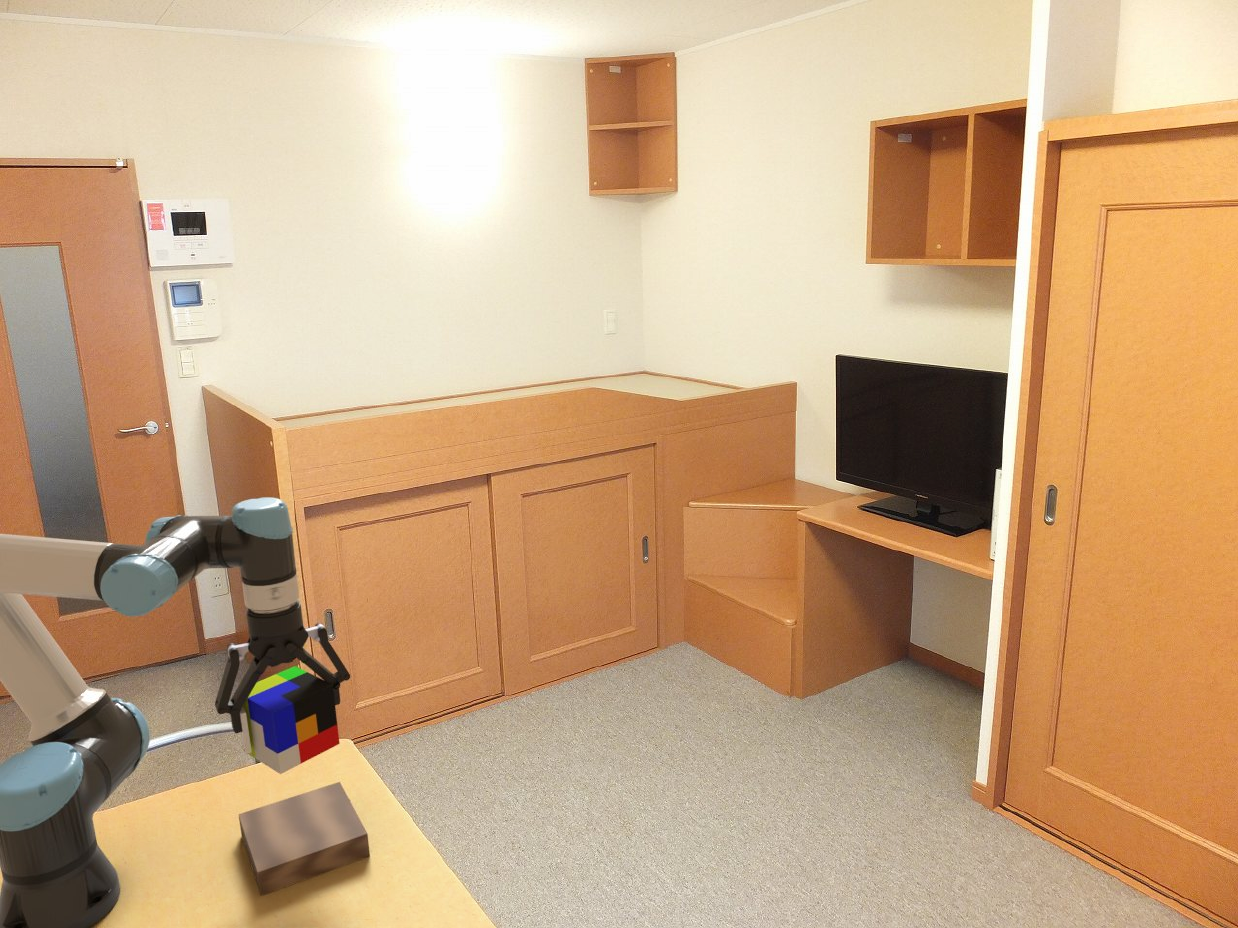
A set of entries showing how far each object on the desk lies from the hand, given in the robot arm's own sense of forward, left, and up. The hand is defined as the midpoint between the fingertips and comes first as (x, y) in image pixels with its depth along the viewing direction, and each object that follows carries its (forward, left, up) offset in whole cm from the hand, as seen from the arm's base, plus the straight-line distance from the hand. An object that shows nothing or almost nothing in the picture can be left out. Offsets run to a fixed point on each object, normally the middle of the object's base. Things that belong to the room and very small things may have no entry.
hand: (290, 736), depth 140 cm
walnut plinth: (0, 0, -19) cm, 19 cm away
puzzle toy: (0, 0, -2) cm, 2 cm away
